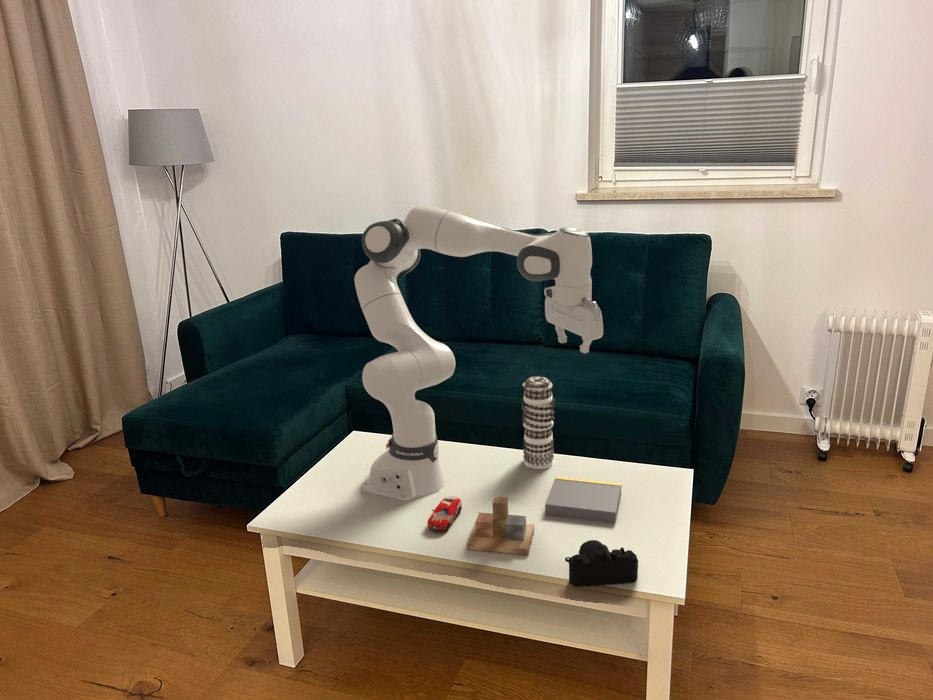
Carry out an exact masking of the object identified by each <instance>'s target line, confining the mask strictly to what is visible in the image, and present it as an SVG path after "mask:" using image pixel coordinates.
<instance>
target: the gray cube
mask: <svg viewBox="0 0 933 700" xmlns="http://www.w3.org/2000/svg"><path fill="white" fill-rule="evenodd" d="M526 517H527V516H526V515H517V514H508V518H507V522H506V539H508V540H519V541H524V537H525V533H526V524H527V518H526Z"/></svg>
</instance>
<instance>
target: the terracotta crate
mask: <svg viewBox="0 0 933 700" xmlns="http://www.w3.org/2000/svg"><path fill="white" fill-rule="evenodd" d="M475 521H476V537H486V538H493V537H494V533H493V512H491V513H490V512H479V511H478V513H477V517H476V519H475Z"/></svg>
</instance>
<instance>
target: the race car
mask: <svg viewBox="0 0 933 700" xmlns="http://www.w3.org/2000/svg"><path fill="white" fill-rule="evenodd" d="M462 504H463V503H462V500H461V499H460V498H459V497H457V496H446V497H444V498H442V499H441V501H439V503H438V505H436V507H435V508H434V509H431V511H432V513H431V515H430V517H428V519H427V523H426V524H427V528H428V529H430V530H433V531H437V532H438V531H439V532H442V531H449V529H450V526H451V525H452V524H453V522H454V521H455V520H456V519H457V517H458V516H459V515H460V514H461V512H462V509H463V507H462Z"/></svg>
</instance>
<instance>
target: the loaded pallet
mask: <svg viewBox="0 0 933 700" xmlns="http://www.w3.org/2000/svg"><path fill="white" fill-rule="evenodd" d="M508 498H509V497H508V496H501V495H500V496H499V495H495V496H494V498H493V500H492V513H493V533H494V537H493V538H486V537H476V520H475V521H474V524H473V527H472V529H471V532H470V535H469V538H468V539H467V544H466V546H467V547H466V550H471V551H482V552H493V553H502V554H503V553H504V554H514V555H522V556H523V555H527V556H529V554H530V552H531V551H530V550H531V546H532V542H533V537H534V534H535V524H534V523H526V533H525V537H524V541H519V540H508V539H506V522H507V518H508V515H509V499H508Z"/></svg>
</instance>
